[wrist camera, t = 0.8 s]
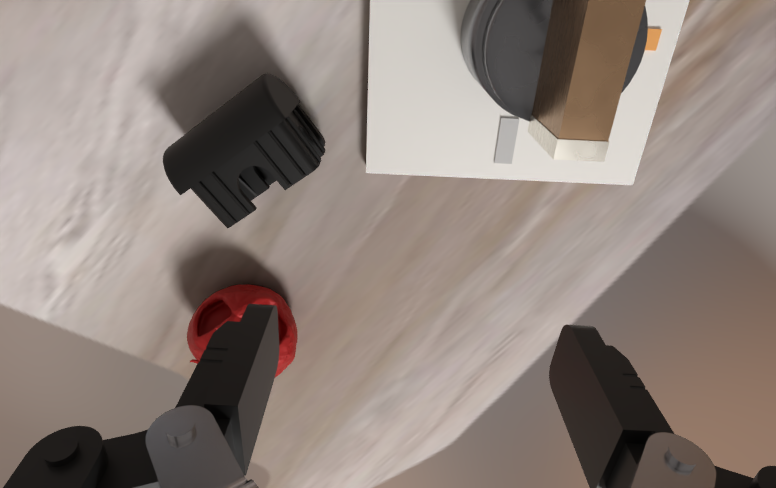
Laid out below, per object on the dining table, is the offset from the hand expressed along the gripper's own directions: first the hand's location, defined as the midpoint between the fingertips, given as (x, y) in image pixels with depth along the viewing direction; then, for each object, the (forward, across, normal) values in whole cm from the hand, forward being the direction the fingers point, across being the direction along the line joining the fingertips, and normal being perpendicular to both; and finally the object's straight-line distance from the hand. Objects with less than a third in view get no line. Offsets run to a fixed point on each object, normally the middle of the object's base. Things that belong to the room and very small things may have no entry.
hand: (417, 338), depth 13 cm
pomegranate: (+28, +13, +22) cm, 38 cm away
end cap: (+28, +12, +4) cm, 31 cm away
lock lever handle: (+19, -8, -6) cm, 22 cm away
